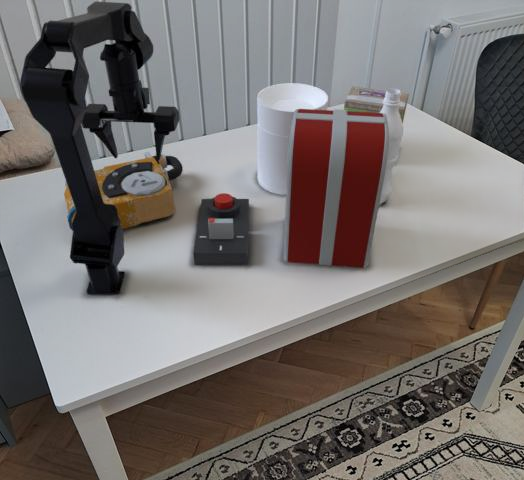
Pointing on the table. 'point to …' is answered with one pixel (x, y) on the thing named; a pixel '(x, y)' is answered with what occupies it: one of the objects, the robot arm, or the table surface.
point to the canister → (280, 128)
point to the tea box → (371, 101)
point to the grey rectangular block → (220, 228)
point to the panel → (221, 247)
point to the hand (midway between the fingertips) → (137, 158)
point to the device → (136, 189)
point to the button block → (225, 211)
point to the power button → (223, 201)
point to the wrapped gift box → (334, 185)
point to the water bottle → (391, 136)
